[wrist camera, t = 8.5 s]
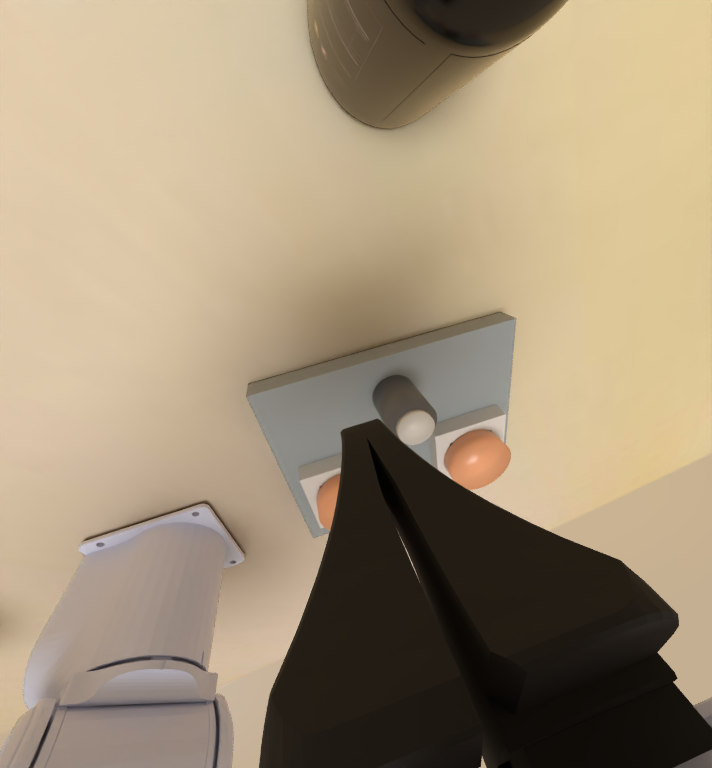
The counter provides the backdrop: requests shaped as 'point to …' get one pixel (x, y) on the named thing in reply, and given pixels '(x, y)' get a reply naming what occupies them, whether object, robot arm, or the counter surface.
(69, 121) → the counter surface
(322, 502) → the knob
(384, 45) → the supplement bottle
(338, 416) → the mount board
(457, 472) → the knob
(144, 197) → the counter surface
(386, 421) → the white domed button
